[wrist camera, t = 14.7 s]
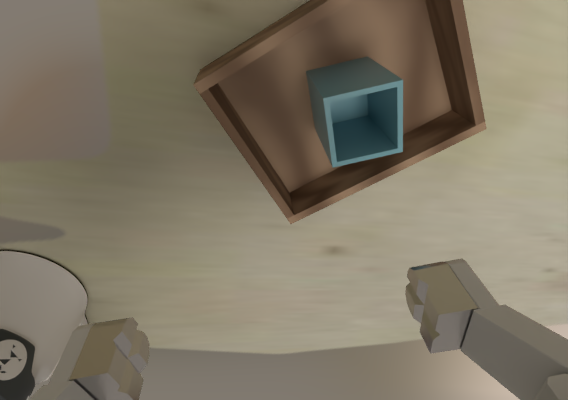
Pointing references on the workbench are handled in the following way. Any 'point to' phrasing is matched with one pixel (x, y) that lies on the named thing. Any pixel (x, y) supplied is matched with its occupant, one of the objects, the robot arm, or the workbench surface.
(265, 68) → the walnut crate
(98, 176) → the workbench surface
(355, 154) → the teal crate
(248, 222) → the workbench surface
